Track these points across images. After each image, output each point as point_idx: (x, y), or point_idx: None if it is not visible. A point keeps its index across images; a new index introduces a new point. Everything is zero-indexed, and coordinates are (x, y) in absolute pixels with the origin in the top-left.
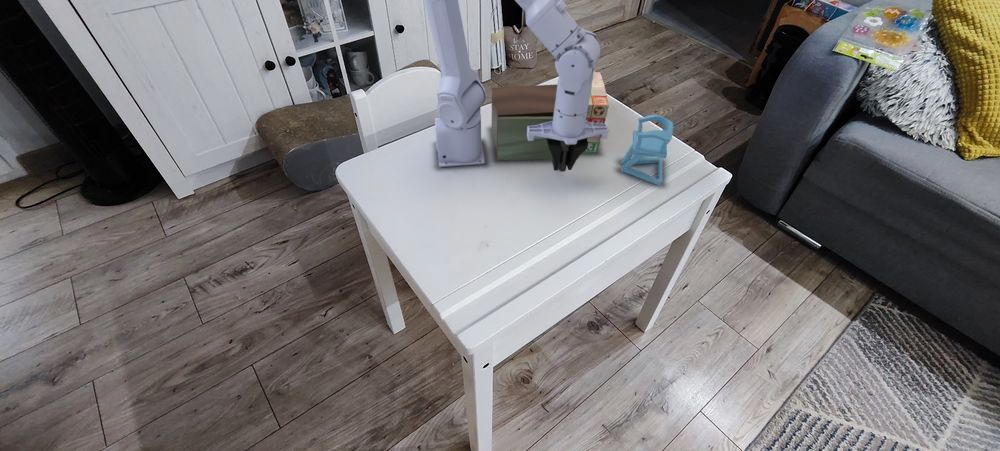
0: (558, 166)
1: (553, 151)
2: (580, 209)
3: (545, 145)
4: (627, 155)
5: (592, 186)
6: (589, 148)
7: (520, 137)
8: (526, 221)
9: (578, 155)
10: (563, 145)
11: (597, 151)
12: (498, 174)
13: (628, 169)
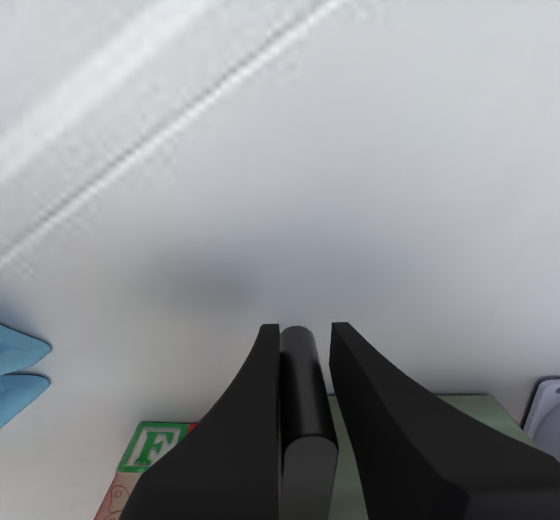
0: (341, 336)
1: (491, 441)
2: (232, 129)
3: (350, 460)
4: (2, 412)
5: (166, 269)
6: (164, 442)
7: None
8: (500, 56)
9: (229, 401)
10: (315, 480)
11: (136, 429)
12: (509, 335)
13: (7, 347)
